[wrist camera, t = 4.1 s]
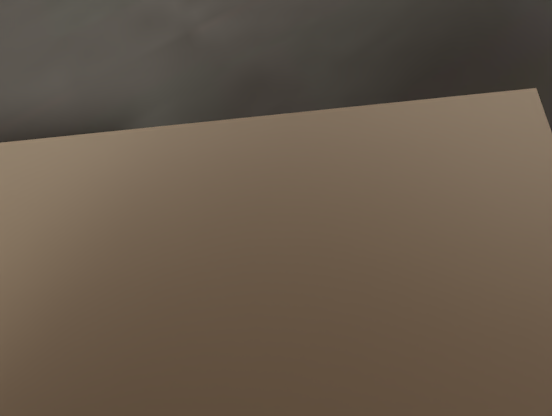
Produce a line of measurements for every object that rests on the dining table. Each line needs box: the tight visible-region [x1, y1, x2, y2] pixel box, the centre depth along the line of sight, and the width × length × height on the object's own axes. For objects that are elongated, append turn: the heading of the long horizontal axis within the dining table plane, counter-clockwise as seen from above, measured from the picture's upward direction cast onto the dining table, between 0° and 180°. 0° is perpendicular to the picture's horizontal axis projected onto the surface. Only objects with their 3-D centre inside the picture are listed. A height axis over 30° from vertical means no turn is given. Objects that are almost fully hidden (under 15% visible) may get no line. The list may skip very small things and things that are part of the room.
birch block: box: [0, 88, 552, 416], centre depth 8 cm, size 5×5×13 cm
